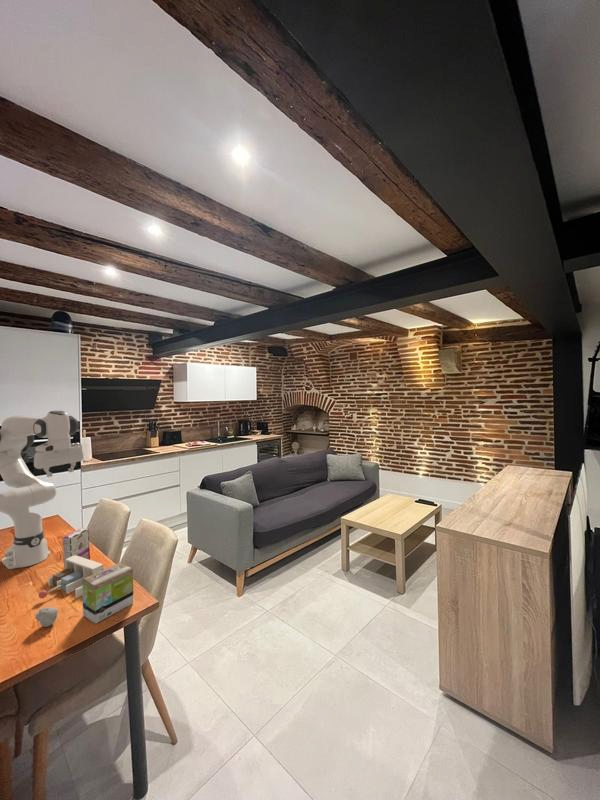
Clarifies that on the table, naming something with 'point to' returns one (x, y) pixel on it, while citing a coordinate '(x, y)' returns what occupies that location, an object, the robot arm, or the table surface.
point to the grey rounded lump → (46, 616)
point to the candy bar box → (76, 544)
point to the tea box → (107, 592)
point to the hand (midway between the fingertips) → (60, 474)
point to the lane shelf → (80, 566)
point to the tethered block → (62, 583)
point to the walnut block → (60, 576)
